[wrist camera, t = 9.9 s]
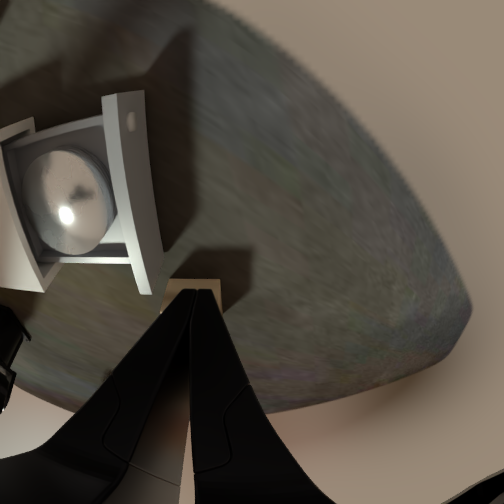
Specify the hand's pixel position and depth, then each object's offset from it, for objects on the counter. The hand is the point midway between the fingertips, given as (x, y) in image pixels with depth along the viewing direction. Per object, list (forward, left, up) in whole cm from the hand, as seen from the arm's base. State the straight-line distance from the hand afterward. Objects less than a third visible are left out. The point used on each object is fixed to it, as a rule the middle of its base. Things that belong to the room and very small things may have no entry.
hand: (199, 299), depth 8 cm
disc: (0, +10, -9) cm, 13 cm away
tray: (0, +10, -10) cm, 14 cm away
